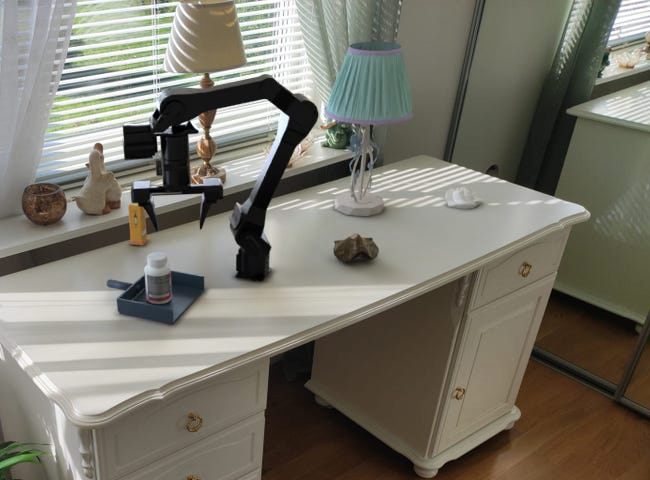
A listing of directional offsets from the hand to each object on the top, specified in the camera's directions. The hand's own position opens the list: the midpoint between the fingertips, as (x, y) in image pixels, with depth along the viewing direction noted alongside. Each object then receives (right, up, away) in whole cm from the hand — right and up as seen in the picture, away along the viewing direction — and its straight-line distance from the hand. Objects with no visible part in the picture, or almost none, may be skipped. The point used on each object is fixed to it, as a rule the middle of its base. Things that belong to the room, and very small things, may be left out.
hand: (179, 229), depth 151 cm
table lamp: (+47, +13, +40) cm, 63 cm away
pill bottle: (-4, -15, -2) cm, 16 cm away
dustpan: (-7, -15, -1) cm, 16 cm away
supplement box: (-10, +1, +24) cm, 26 cm away
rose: (+75, +14, +41) cm, 87 cm away
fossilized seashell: (+40, -2, +11) cm, 42 cm away
